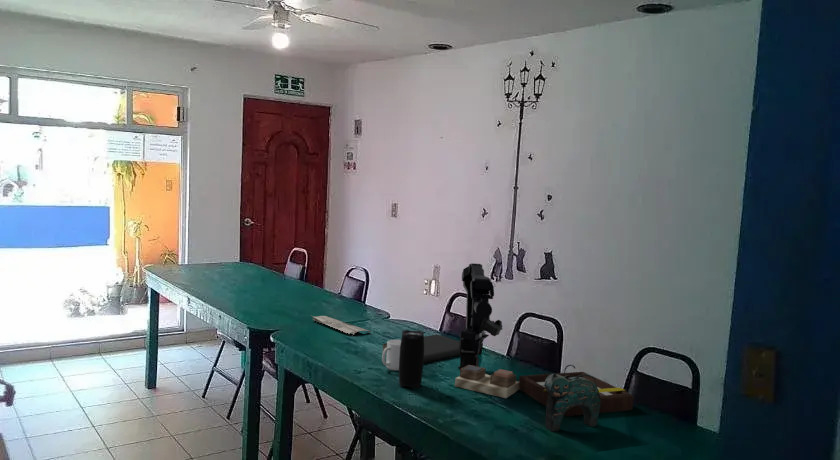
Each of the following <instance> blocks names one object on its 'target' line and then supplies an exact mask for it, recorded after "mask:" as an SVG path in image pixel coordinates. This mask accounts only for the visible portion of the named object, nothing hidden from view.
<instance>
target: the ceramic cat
mask: <svg viewBox="0 0 840 460" xmlns="http://www.w3.org/2000/svg"><path fill="white" fill-rule="evenodd" d="M568 367H573V368H574V370H575V369H576V366H575V365H574V364H567V365H566V366H565V367H564V371H563V373H564V375H565V373H566V369H567V368H568ZM550 374H551V375H549V376H548V377H547V378H546V380H545V390H546V391H547V393H548V394H549V396H548V401H547V406H545V407H546V408H545V424H544V425H545V426H544V427H545V429H547V430H548V431H550V432H551V433H552V432H559V431H560V428H561V424H562V420H563V419H564V417H565V416H564V415H565V413H566V411H567V410H568V409H569V408H572V407H575V406H580V407H581V408H582V409H583V414H584V415H583V422H582V423H583V425H586V426H587V427H595V426H596V427H597V425H598V419H599V414H600V413H599V411H600V405H601V399H600V394H599V390H598V388H597V385H596V380H595V378H596V377H595V376H593V375H591V374H589V373H587V374H582V375H579V376H577V377H571V378H568V377H569V376H561V375H558V374H556V373H550ZM588 374H589V375H588ZM580 376H590V377H592V378H593V379H594V381H595V384H594V383H593V382H592V381H590V380H588V379H586V378H583V377H580ZM594 377H595V378H594ZM563 416H564V417H563Z"/></svg>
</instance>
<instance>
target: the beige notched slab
mask: <svg viewBox="0 0 840 460" xmlns="http://www.w3.org/2000/svg"><path fill="white" fill-rule="evenodd" d="M311 317H312V321H313V320H314V321H317V322H319V323H318V324H320V323H322V324H321V325H323V324H325V325H328V326H330V327H329V328H331V327H333V328H332V329H334V328H335V329H334V330H336V329H338V330H337V331H339V330H340V332H342V331H343V333H345V334H347V333H348V334H347V335H350V333H351V334H353V335H355V334H356V333H357V332H359V331H368V332H371V330H368V329H366V328H362V327H359V326H357V325H353V324H351V323H348V322H344V321H341V320H340V319H336V318H333V317H330V316H327V315H319V316H318V315H317V316H313V315H311ZM314 321H313V322H314ZM317 322H316V323H317ZM325 325H324V326H325ZM328 326H327V327H328ZM353 335H352V336H353Z"/></svg>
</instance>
